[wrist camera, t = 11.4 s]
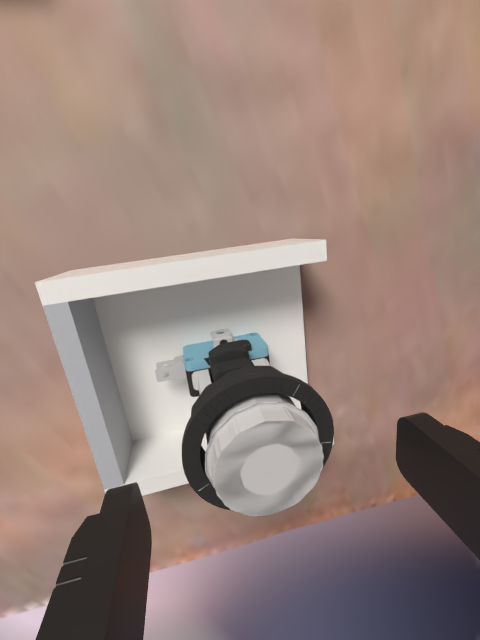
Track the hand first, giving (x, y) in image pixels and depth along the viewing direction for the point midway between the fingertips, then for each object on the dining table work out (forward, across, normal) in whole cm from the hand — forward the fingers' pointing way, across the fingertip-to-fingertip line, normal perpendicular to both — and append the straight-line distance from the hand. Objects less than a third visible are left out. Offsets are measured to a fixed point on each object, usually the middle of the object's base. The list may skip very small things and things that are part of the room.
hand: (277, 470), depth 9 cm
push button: (+10, +1, 0) cm, 11 cm away
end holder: (+11, +1, 0) cm, 11 cm away
